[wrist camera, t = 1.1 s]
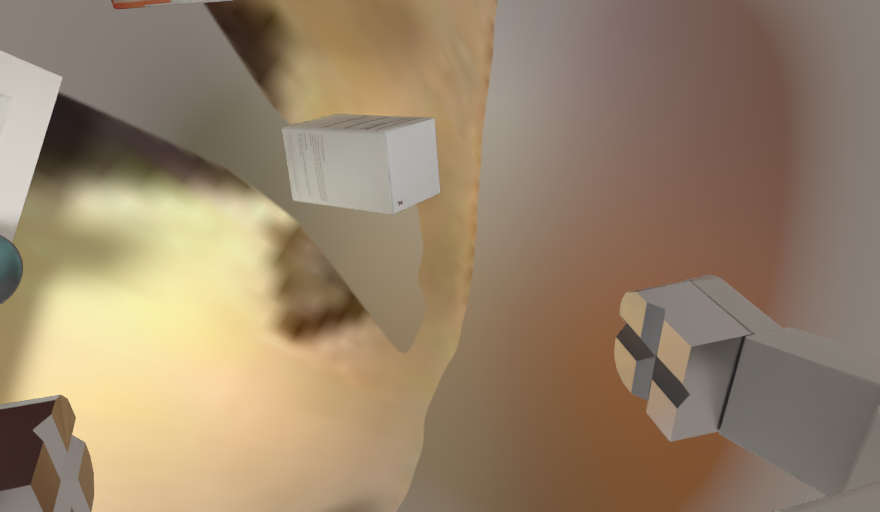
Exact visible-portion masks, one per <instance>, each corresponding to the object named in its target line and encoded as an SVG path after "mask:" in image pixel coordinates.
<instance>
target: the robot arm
mask: <svg viewBox="0 0 880 512" xmlns="http://www.w3.org/2000/svg"><path fill="white" fill-rule="evenodd" d="M620 316H621V317H622V318H623V320H624V321H625V322H626V325H625V326H624V327H623V329H622V330H621V331H620V332H619V334H618V335H617V336H616V341H615V350H614V356H615V360H616V366H617V370H618V373H619V375H620V377H621V379H622V381H623V383H624V384H625V385H626V387H627V388H628V389H629V391H630V392H631V393H632V394H635V395H637V396H639V397H641V398H643V399H645V400H647V410H646V412H647V414H648V415H649V416H650V417H651V419H652V420H653V421H654V422H655V423H656V425H657V426H658V427H659V429H660V430H661V431H662V432H663V434H664V435H665V436H666V437H667V438H668V440H669V441H670V442H671V441H676V440H680V439H685V438H690V437H694V436H699V435H703V434H709V433H713V432H718V431H720V432H719V434H720V435H722V436H724V437H725V438H727V439H729V440H731V441H732V442H734V443H736V444H738V445H739V446H741V447H743V448H744V449H746V450H748V451H750V452H751V453H753V454H755V455H757V456H758V457H760V458H762V459H763V460H765V461H767V462H769V463H770V464H772V465H774V466H776V467H777V468H779V469H781V470H783V471H784V472H786V473H788V474H789V475H791V476H793V477H795V478H796V479H798V480H800V481H802V482H803V483H805V484H807V485H809V486H810V487H812V488H814V489H816V490H817V491H819V492H821V493H822V494H824V495H826V496H827V497H823V498H820V499H816V500H813V501H809V502H806V503H802V504H799V505H795V506H792V507H788V508H785V509H781V510H778V511H774V512H880V356H877V355H875V354H871V353H868V352H865V351H862V350H859V349H856V348H853V347H850V346H847V345H844V344H841V343H838V342H835V341H832V340H829V339H826V338H823V337H820V336H817V335H814V334H810V333H808V332H805V331H802V330H799V329H796V328H792V327H790V328H785V329H783V328H781V327H780V326H779V325H778V324H776V323H775V322H774V321H773V320H772V319H770V318H769V317H768V316H767V315H765V314H764V313H763V312H762V311H760V310H759V309H758V308H757V307H756V306H754V305H753V304H752V303H750V302H749V301H748V300H747V299H746V298H744V297H743V296H742V295H741V294H739V293H738V292H737V291H736V290H735V289H733V288H732V287H731V286H730V285H728V284H727V283H726V282H724V281H723V280H722V279H721V278H719V277H716V276H713V275H708V276H703V277H697V278H693V279H688V280H684V281H682V282H679V283H674V284H668V285H663V286H658V287H652V288H646V289H641V290H636V291H630V292H626V294H625V296H624V298H623V300H622V302H621V308H620ZM75 419H76V417H75V415H74V412H73V410H72V408H71V405H70V403H69V401H68V399H67V398H65V397H64V396H62V395H57V396H50V397H44V398H38V399H32V400H26V401H20V402H13V403H7V404H1V405H0V512H91V511H92V505H93V498H94V472H93V468H92V463H91V458H90V454H89V452H88V449H87V446H86V443H85V442H83V441H82V440H80V439H78V438H76V437H75V436H73V435H72V432H73V427H74V423H75Z"/></svg>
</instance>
